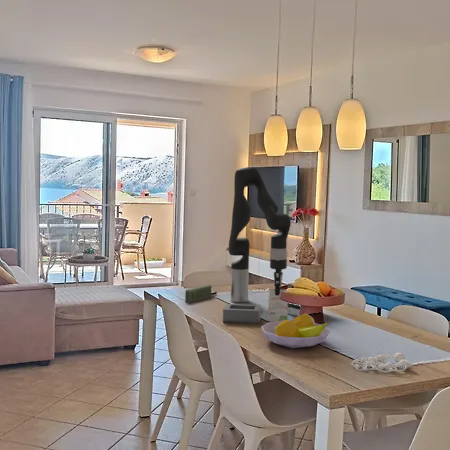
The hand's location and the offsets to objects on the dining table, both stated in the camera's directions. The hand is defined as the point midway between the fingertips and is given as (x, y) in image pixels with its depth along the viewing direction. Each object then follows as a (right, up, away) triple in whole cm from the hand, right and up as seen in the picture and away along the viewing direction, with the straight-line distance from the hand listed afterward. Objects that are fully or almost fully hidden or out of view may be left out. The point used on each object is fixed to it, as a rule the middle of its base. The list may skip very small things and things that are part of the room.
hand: (277, 293), depth 256 cm
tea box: (+14, -12, +15) cm, 24 cm away
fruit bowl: (+4, -16, -36) cm, 39 cm away
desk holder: (-16, -12, 0) cm, 20 cm away
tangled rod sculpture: (+30, -18, -63) cm, 72 cm away
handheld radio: (-36, -9, +46) cm, 60 cm away
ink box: (0, -13, +1) cm, 13 cm away
